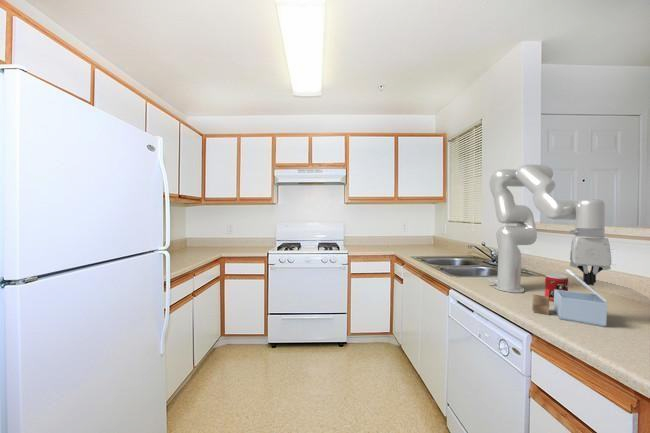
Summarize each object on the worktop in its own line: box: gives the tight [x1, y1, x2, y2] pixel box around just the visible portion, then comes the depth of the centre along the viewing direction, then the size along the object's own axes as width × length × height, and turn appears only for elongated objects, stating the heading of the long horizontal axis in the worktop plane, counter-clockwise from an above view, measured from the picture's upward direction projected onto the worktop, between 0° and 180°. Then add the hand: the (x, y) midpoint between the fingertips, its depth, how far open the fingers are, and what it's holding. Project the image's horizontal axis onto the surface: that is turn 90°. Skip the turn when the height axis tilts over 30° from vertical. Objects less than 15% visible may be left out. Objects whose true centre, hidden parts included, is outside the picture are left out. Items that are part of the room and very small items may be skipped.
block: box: [531, 294, 550, 316], centre depth 105 cm, size 4×4×6 cm
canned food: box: [544, 272, 569, 303], centre depth 120 cm, size 8×8×11 cm
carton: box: [553, 289, 608, 328], centre depth 100 cm, size 12×12×8 cm
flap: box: [565, 268, 608, 303], centre depth 99 cm, size 12×11×1 cm
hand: (589, 284), depth 98 cm, fingers closed
